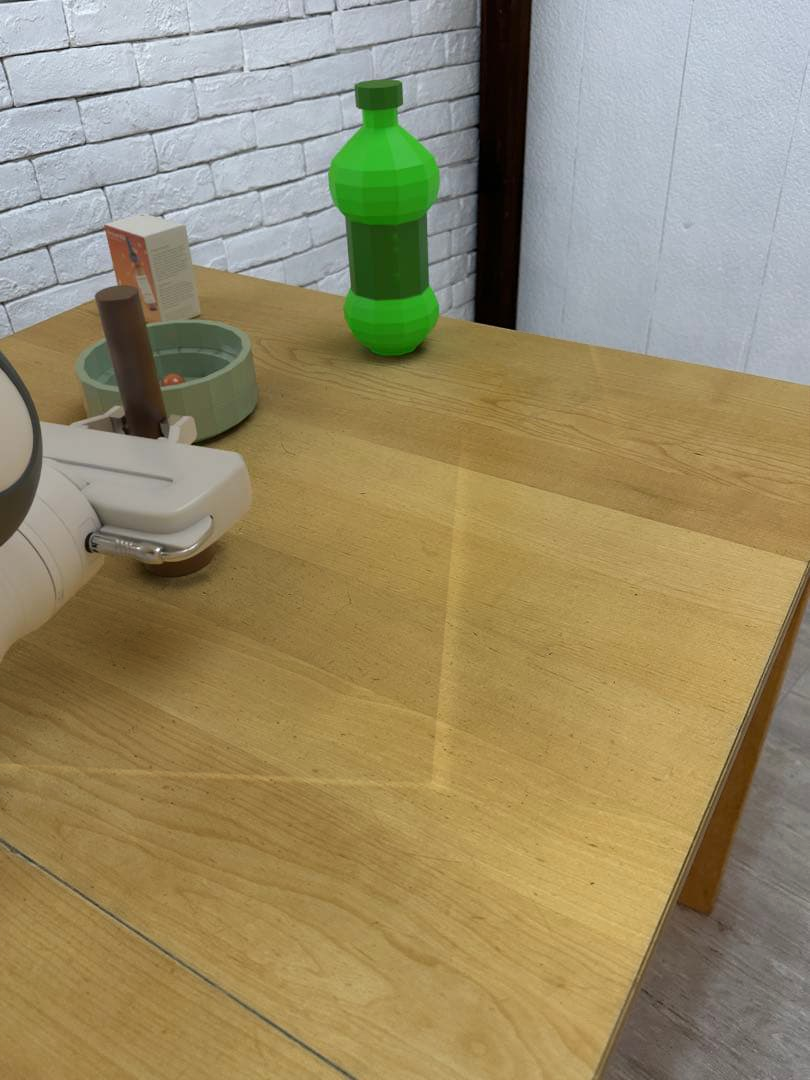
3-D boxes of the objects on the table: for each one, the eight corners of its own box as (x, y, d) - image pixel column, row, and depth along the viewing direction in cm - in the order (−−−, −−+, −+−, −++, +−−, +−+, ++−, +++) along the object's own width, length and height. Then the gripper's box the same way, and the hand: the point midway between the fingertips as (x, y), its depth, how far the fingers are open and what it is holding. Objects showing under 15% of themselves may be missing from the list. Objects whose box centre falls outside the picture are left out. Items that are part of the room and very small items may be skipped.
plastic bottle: (347, 328, 100) (325, 76, 85) (443, 325, 99) (437, 71, 85) (339, 367, 92) (313, 96, 77) (443, 364, 91) (436, 91, 76)
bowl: (64, 453, 80) (46, 392, 76) (125, 375, 92) (111, 319, 89) (237, 455, 78) (226, 392, 75) (275, 375, 91) (267, 318, 87)
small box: (123, 314, 106) (101, 223, 100) (163, 300, 109) (144, 211, 103) (162, 330, 102) (142, 236, 95) (203, 315, 105) (186, 223, 99)
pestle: (133, 575, 65) (57, 309, 53) (157, 533, 69) (92, 277, 57) (203, 578, 64) (142, 309, 52) (223, 535, 68) (171, 276, 57)
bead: (168, 371, 86) (162, 396, 87) (160, 369, 84) (154, 394, 84) (192, 378, 86) (186, 402, 87) (185, 376, 84) (178, 401, 84)
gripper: (168, 517, 46) (289, 396, 56) (-135, 460, 52) (24, 361, 63) (191, 612, 50) (301, 482, 60) (-95, 548, 56) (49, 440, 66)
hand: (157, 420), depth 61 cm, fingers open, 3 cm apart
